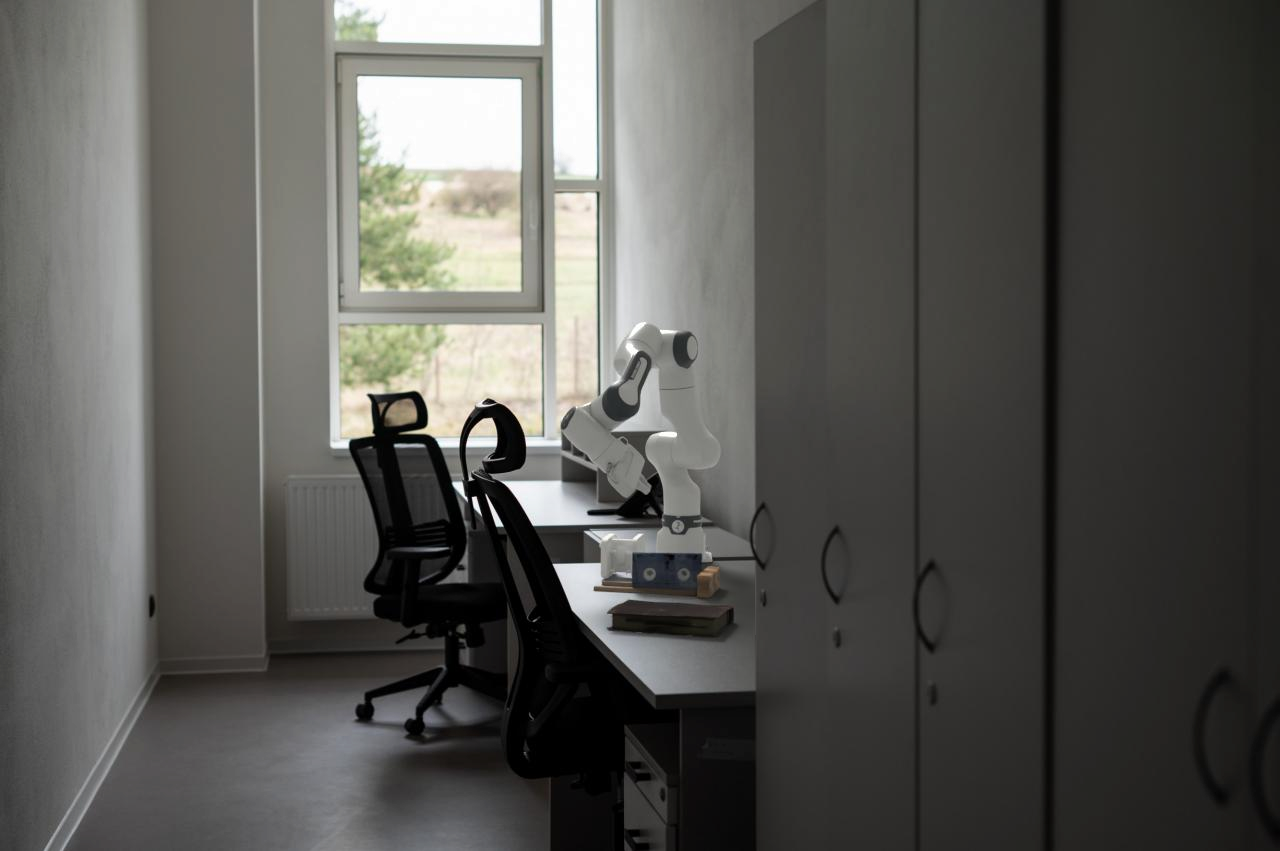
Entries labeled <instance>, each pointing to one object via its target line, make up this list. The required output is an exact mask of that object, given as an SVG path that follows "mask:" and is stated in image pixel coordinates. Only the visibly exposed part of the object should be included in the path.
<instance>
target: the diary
mask: <svg viewBox="0 0 1280 851" xmlns="http://www.w3.org/2000/svg"><path fill="white" fill-rule="evenodd" d="M606 614H607V615H611V616H610V617H611V626H609V627H606V629H607V630H608V629H609V631H611V630H612V631H614V632H622V631H623V632H622V633H624V632H626V633H636V632H642V633H641V634H653V633H658V634H657V635H659V634H660V635H666V634H667V635H669V636H687V635H692V636H691V637H697V636H699V638H710V639H711V638H713V639H714V638H715V639H718V638H719V637H720V636H721V635H722V634H723V633H724V632H725V631H726V630H725V629H724V628H725V627H726V626H727V625H731V624H734V619H735V609H734V605H718V604H715V605H714V604H713V605H710V604H699V603H698V604H696V603H688V602H668V601H667V602H664V601H663V602H661V601H650V600H649V601H647V600H637V599H627V600H626V601H624V602H621V603H619V604H616V605H615V606H612V607H611V608H610V609H609V610H607V612H606Z"/></svg>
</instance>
